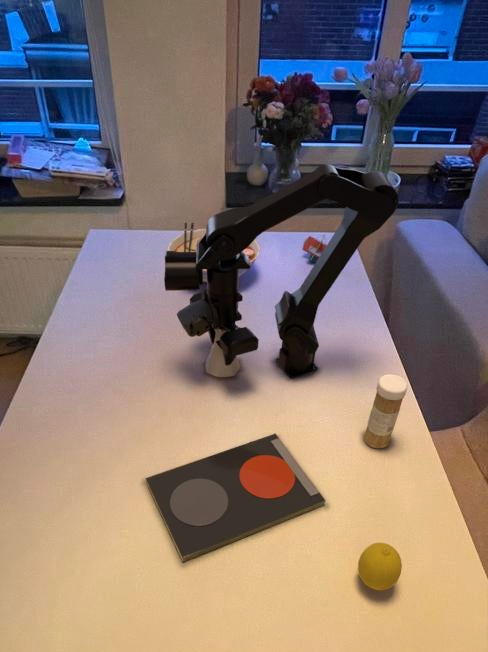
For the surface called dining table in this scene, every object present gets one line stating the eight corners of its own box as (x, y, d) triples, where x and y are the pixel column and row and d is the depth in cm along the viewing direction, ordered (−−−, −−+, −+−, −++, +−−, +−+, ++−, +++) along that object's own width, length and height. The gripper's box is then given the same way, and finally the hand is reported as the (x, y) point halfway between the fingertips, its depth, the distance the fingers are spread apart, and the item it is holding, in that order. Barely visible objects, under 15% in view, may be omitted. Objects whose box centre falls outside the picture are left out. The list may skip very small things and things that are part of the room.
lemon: (349, 565, 75) (359, 533, 69) (386, 562, 75) (400, 530, 70) (359, 601, 71) (371, 571, 65) (399, 598, 71) (414, 568, 66)
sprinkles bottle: (378, 428, 95) (395, 370, 86) (394, 444, 92) (414, 386, 83) (357, 435, 94) (373, 377, 84) (373, 453, 91) (391, 394, 81)
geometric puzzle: (338, 249, 140) (323, 224, 137) (334, 261, 135) (319, 235, 132) (315, 261, 144) (300, 236, 141) (310, 273, 140) (295, 248, 136)
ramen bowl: (260, 301, 125) (262, 270, 120) (164, 300, 125) (162, 269, 120) (257, 252, 143) (258, 223, 138) (173, 251, 143) (171, 222, 138)
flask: (236, 380, 104) (237, 338, 97) (201, 376, 105) (199, 334, 98) (242, 358, 109) (244, 317, 102) (209, 354, 110) (207, 313, 103)
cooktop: (274, 438, 93) (275, 432, 92) (324, 504, 83) (325, 499, 82) (146, 482, 86) (145, 476, 85) (182, 562, 75) (182, 556, 74)
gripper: (162, 273, 98) (168, 341, 109) (202, 325, 86) (203, 396, 97) (216, 261, 102) (216, 329, 112) (262, 310, 90) (257, 380, 100)
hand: (222, 357), depth 105 cm, fingers closed on flask, 5 cm apart
